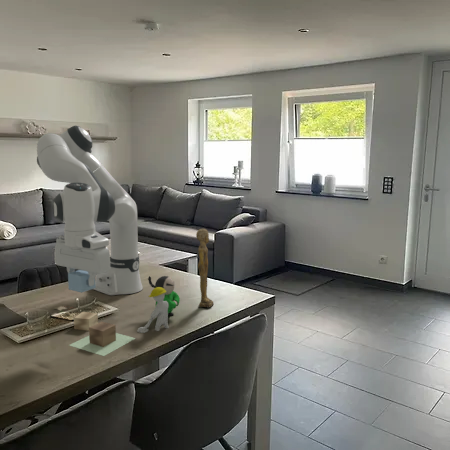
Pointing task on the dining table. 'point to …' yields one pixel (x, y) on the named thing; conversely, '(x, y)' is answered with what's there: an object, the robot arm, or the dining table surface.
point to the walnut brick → (102, 334)
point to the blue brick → (79, 281)
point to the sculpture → (203, 266)
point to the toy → (167, 292)
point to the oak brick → (85, 320)
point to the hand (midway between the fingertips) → (82, 283)
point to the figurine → (158, 310)
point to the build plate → (99, 350)
